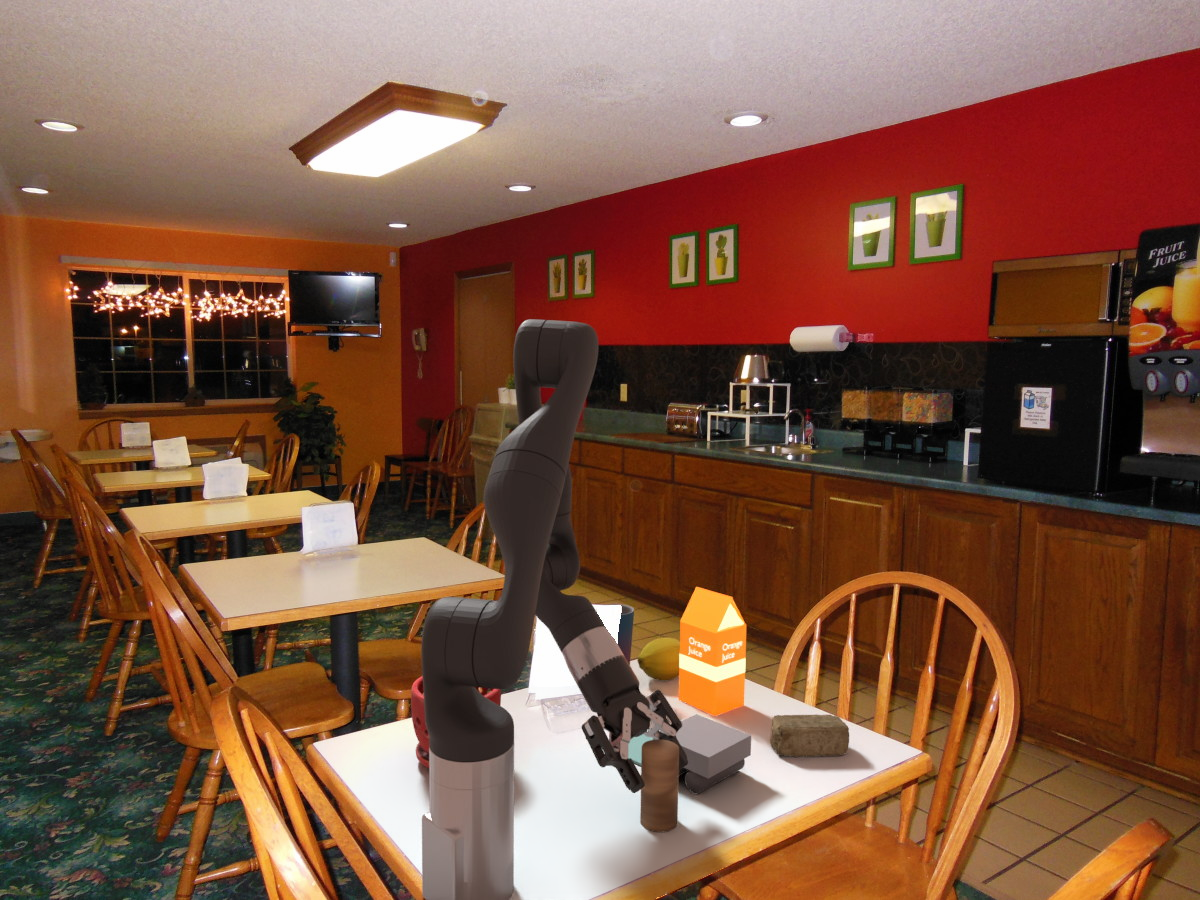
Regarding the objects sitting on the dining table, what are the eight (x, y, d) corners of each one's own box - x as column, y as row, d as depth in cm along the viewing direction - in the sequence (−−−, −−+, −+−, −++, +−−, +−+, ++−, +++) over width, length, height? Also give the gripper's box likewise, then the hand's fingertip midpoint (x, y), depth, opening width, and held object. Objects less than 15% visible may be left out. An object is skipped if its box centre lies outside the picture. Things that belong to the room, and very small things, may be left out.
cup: (626, 698, 147) (628, 616, 146) (590, 693, 149) (591, 612, 148) (637, 685, 154) (638, 606, 152) (602, 680, 156) (603, 602, 154)
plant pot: (392, 769, 120) (392, 689, 119) (447, 734, 132) (447, 661, 131) (467, 790, 114) (467, 706, 113) (517, 751, 126) (517, 675, 125)
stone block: (850, 758, 126) (852, 726, 125) (776, 760, 125) (777, 728, 124) (837, 741, 132) (838, 711, 131) (766, 743, 131) (767, 713, 130)
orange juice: (707, 689, 152) (710, 583, 150) (744, 705, 145) (748, 593, 143) (677, 700, 147) (680, 590, 145) (714, 716, 140) (717, 601, 138)
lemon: (678, 669, 162) (679, 629, 161) (697, 683, 155) (698, 641, 154) (627, 676, 158) (628, 635, 157) (645, 691, 151) (646, 648, 150)
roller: (660, 836, 104) (662, 760, 103) (632, 821, 107) (633, 747, 106) (684, 822, 107) (686, 748, 106) (657, 807, 110) (658, 736, 109)
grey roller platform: (707, 799, 113) (708, 757, 112) (652, 773, 120) (653, 733, 119) (750, 774, 120) (751, 735, 119) (695, 751, 127) (696, 714, 126)
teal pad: (644, 767, 122) (644, 765, 121) (601, 747, 128) (601, 745, 128) (683, 748, 128) (683, 746, 128) (640, 730, 134) (640, 727, 134)
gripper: (575, 667, 106) (640, 785, 99) (649, 642, 116) (712, 747, 109) (548, 695, 110) (608, 810, 103) (621, 669, 120) (680, 772, 113)
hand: (661, 778), depth 106 cm, fingers open, 8 cm apart
